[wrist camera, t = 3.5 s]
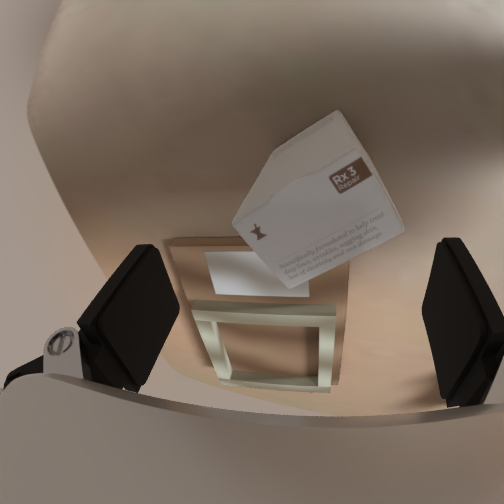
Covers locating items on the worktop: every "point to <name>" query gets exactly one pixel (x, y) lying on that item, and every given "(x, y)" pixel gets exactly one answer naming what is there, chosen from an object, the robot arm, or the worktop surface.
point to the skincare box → (316, 204)
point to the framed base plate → (263, 316)
